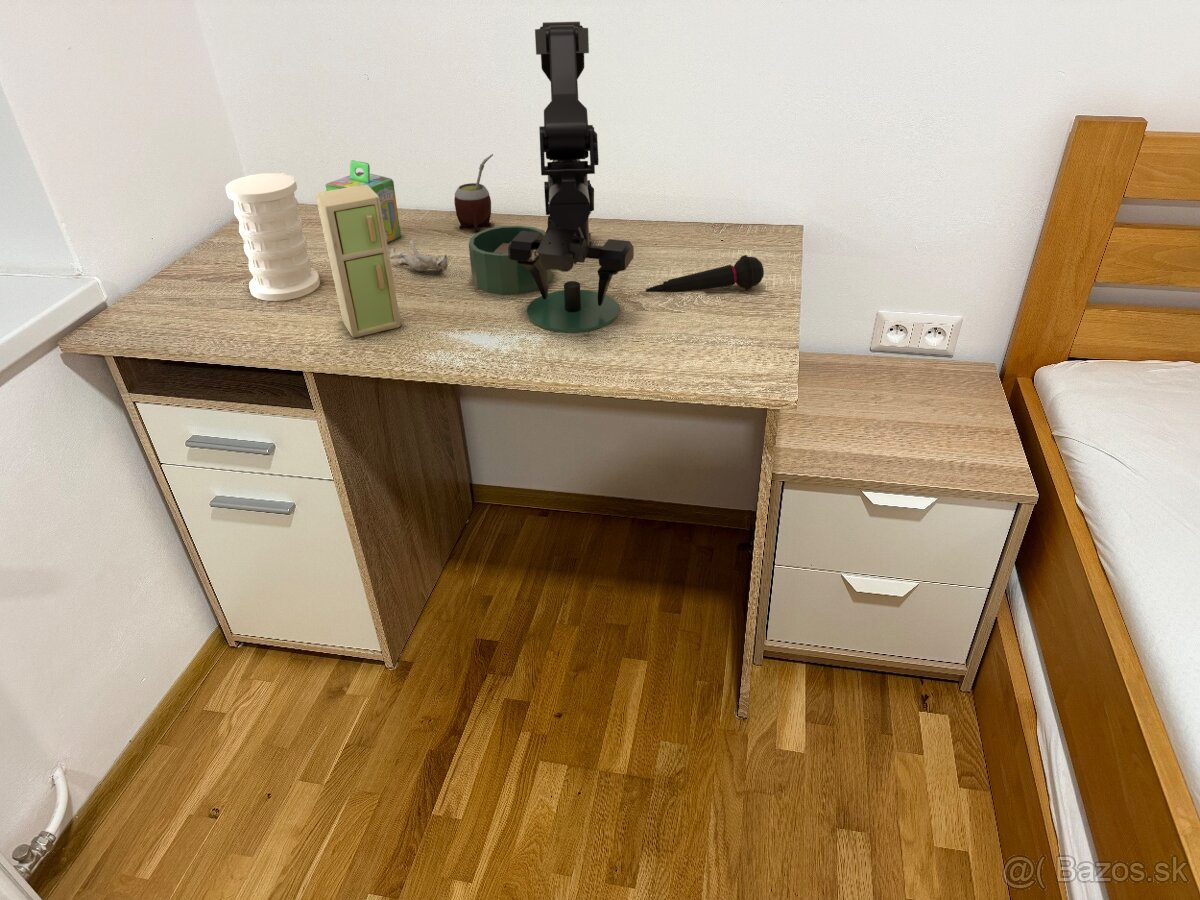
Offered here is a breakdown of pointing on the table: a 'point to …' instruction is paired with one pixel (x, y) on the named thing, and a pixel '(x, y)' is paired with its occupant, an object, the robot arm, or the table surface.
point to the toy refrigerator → (359, 259)
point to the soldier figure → (420, 260)
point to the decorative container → (273, 236)
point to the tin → (500, 263)
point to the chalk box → (380, 187)
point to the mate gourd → (473, 204)
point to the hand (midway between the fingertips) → (572, 301)
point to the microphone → (717, 277)
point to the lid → (572, 310)
